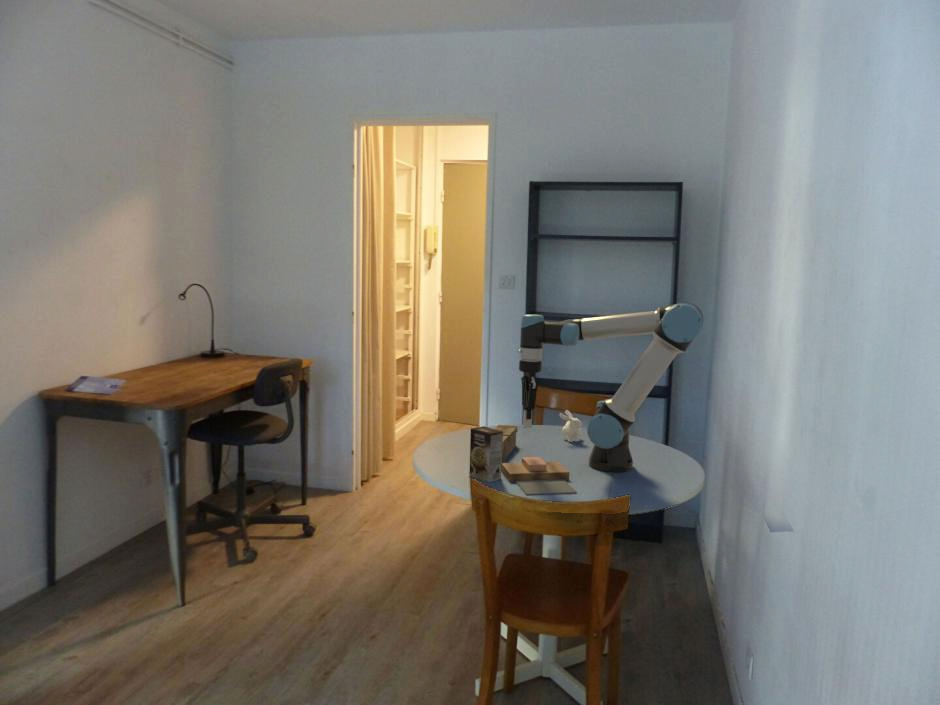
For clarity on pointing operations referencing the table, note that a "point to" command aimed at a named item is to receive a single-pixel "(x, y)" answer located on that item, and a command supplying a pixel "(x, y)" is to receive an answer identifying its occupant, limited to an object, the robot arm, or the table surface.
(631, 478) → the table surface
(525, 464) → the salmon orange flat block
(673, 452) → the table surface
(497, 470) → the coffee box
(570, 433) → the rabbit
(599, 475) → the table surface
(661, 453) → the table surface
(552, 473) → the brown wooden board
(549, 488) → the mat
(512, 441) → the block tower
